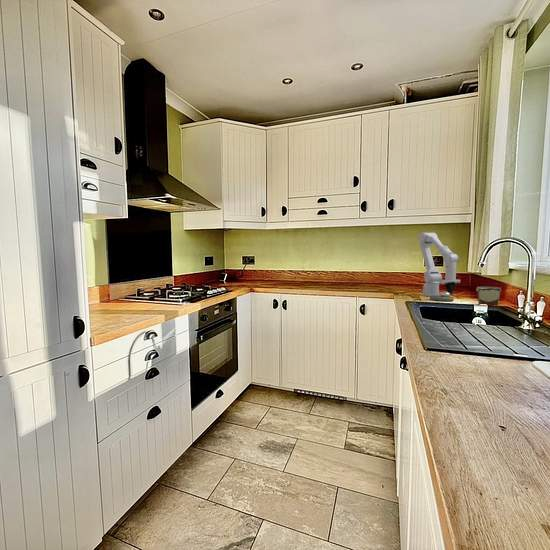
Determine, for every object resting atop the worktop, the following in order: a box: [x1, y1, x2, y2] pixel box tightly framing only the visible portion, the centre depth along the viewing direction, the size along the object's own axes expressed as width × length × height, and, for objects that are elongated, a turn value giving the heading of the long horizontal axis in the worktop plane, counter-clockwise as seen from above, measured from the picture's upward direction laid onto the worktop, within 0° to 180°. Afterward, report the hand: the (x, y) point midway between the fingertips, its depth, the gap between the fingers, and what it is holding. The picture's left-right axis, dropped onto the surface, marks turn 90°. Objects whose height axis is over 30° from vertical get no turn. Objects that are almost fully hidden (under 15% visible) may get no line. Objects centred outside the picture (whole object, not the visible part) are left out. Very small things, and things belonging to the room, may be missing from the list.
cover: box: [440, 290, 451, 297], centre depth 189 cm, size 5×5×3 cm
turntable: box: [429, 294, 455, 302], centre depth 188 cm, size 13×13×2 cm
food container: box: [475, 286, 502, 306], centre depth 169 cm, size 12×6×10 cm, turn 84°
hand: (450, 294), depth 190 cm, fingers closed
